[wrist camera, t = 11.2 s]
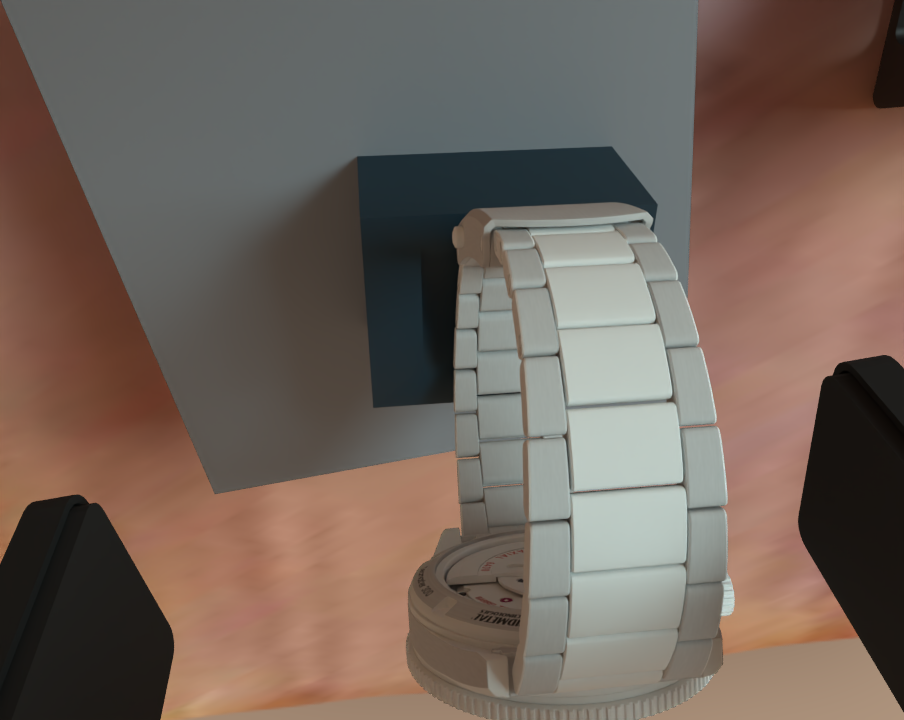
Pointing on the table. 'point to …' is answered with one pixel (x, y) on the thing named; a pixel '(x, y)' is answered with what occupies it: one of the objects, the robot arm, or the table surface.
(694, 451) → the watch
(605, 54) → the base block
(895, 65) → the phone stand
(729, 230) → the table surface
